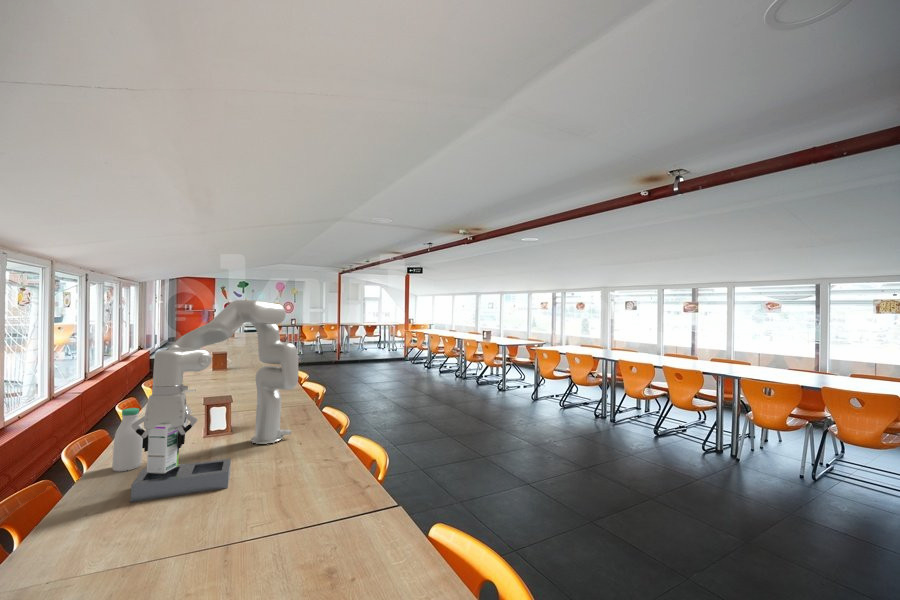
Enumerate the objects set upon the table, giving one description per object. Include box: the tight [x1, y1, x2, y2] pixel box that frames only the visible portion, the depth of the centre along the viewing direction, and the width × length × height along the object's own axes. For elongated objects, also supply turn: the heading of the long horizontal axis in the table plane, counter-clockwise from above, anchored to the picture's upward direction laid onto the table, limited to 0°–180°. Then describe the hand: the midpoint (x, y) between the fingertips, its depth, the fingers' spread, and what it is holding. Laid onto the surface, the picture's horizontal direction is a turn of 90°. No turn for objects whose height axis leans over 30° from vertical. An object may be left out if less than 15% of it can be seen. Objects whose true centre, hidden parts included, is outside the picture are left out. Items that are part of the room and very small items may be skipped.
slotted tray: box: [130, 458, 232, 504], centre depth 119 cm, size 24×12×5 cm, turn 117°
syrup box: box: [146, 424, 180, 473], centre depth 117 cm, size 6×6×14 cm
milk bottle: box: [111, 407, 143, 472], centre depth 132 cm, size 8×8×20 cm
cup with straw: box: [182, 388, 196, 427], centre depth 166 cm, size 8×9×20 cm
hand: (163, 448), depth 117 cm, fingers closed on syrup box, 7 cm apart
